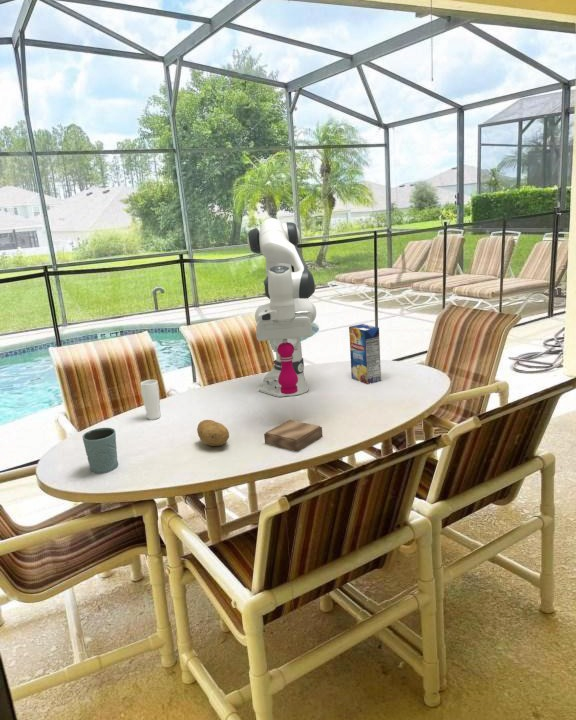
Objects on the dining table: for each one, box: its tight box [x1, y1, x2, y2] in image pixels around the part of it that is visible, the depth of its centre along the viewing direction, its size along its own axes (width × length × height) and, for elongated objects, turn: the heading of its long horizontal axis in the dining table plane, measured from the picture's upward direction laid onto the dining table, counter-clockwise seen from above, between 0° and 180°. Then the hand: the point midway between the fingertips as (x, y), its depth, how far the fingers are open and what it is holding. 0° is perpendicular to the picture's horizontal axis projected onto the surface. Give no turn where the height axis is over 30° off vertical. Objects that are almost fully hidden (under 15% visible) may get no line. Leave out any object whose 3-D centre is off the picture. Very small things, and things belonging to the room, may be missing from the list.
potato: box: [196, 419, 230, 447], centre depth 191 cm, size 10×14×8 cm
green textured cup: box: [82, 427, 119, 475], centre depth 179 cm, size 10×10×12 cm
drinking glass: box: [140, 379, 161, 421], centre depth 221 cm, size 7×7×15 cm
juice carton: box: [348, 323, 382, 385], centre depth 246 cm, size 12×8×24 cm, turn 28°
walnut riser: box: [263, 419, 323, 453], centre depth 190 cm, size 14×14×4 cm
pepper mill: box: [278, 339, 298, 394], centre depth 202 cm, size 7×7×20 cm
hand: (285, 350), depth 201 cm, fingers closed on pepper mill, 6 cm apart
